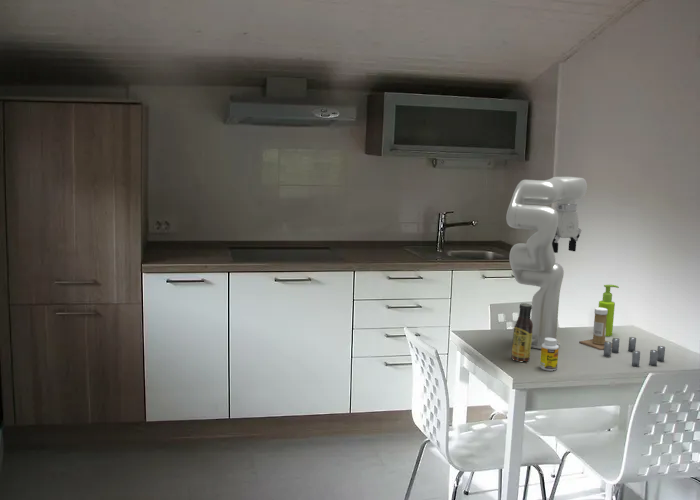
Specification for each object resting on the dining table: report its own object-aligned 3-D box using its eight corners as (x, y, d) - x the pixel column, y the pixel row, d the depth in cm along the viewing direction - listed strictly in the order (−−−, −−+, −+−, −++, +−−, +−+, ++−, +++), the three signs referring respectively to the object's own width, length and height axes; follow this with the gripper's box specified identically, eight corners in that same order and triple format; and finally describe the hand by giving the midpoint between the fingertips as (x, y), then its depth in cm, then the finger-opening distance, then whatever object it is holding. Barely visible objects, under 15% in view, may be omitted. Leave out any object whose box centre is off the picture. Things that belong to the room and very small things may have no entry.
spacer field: (640, 369, 236) (642, 354, 235) (597, 353, 251) (598, 340, 251) (670, 362, 243) (671, 348, 242) (626, 348, 259) (627, 335, 258)
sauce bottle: (507, 359, 243) (511, 303, 240) (519, 356, 247) (522, 301, 244) (522, 364, 238) (526, 307, 235) (534, 360, 242) (538, 305, 239)
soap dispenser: (616, 336, 274) (621, 286, 271) (599, 336, 274) (603, 286, 271) (611, 332, 280) (615, 283, 277) (594, 332, 280) (598, 283, 277)
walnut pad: (600, 350, 256) (600, 348, 256) (579, 342, 265) (579, 341, 265) (619, 346, 261) (619, 345, 261) (597, 339, 269) (597, 338, 269)
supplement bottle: (544, 371, 231) (547, 341, 229) (536, 366, 236) (538, 337, 234) (560, 370, 232) (562, 341, 230) (551, 365, 237) (553, 336, 236)
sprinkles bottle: (607, 343, 262) (610, 309, 260) (599, 345, 259) (602, 310, 257) (597, 340, 266) (599, 306, 264) (589, 342, 263) (592, 307, 261)
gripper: (557, 210, 265) (554, 254, 268) (589, 208, 274) (586, 251, 277) (542, 208, 272) (540, 251, 275) (574, 206, 280) (571, 248, 283)
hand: (563, 251), depth 276 cm, fingers open, 9 cm apart
